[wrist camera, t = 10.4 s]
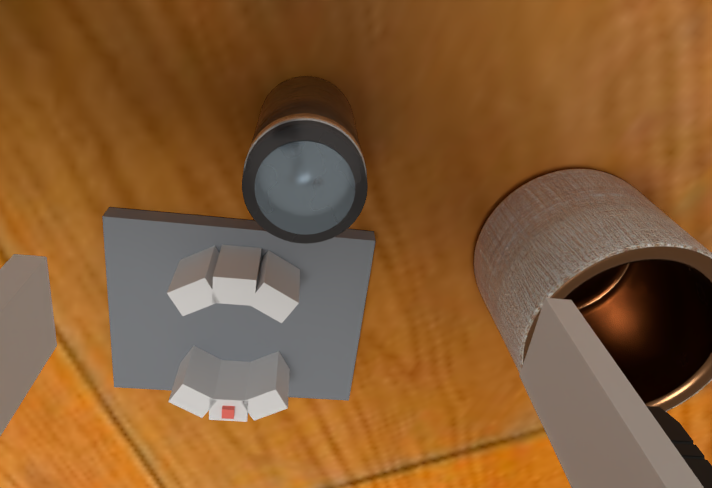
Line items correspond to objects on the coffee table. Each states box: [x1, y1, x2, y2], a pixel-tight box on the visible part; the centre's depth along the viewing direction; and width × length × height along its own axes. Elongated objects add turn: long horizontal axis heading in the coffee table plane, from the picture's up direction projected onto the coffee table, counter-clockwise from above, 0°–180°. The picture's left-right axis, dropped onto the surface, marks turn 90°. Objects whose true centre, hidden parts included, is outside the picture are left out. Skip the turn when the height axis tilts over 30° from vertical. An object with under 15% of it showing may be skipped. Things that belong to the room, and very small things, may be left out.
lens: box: [242, 76, 367, 244], centre depth 28 cm, size 5×5×9 cm
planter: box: [474, 169, 712, 412], centre depth 32 cm, size 11×11×10 cm
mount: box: [102, 207, 375, 422], centre depth 35 cm, size 12×15×5 cm
